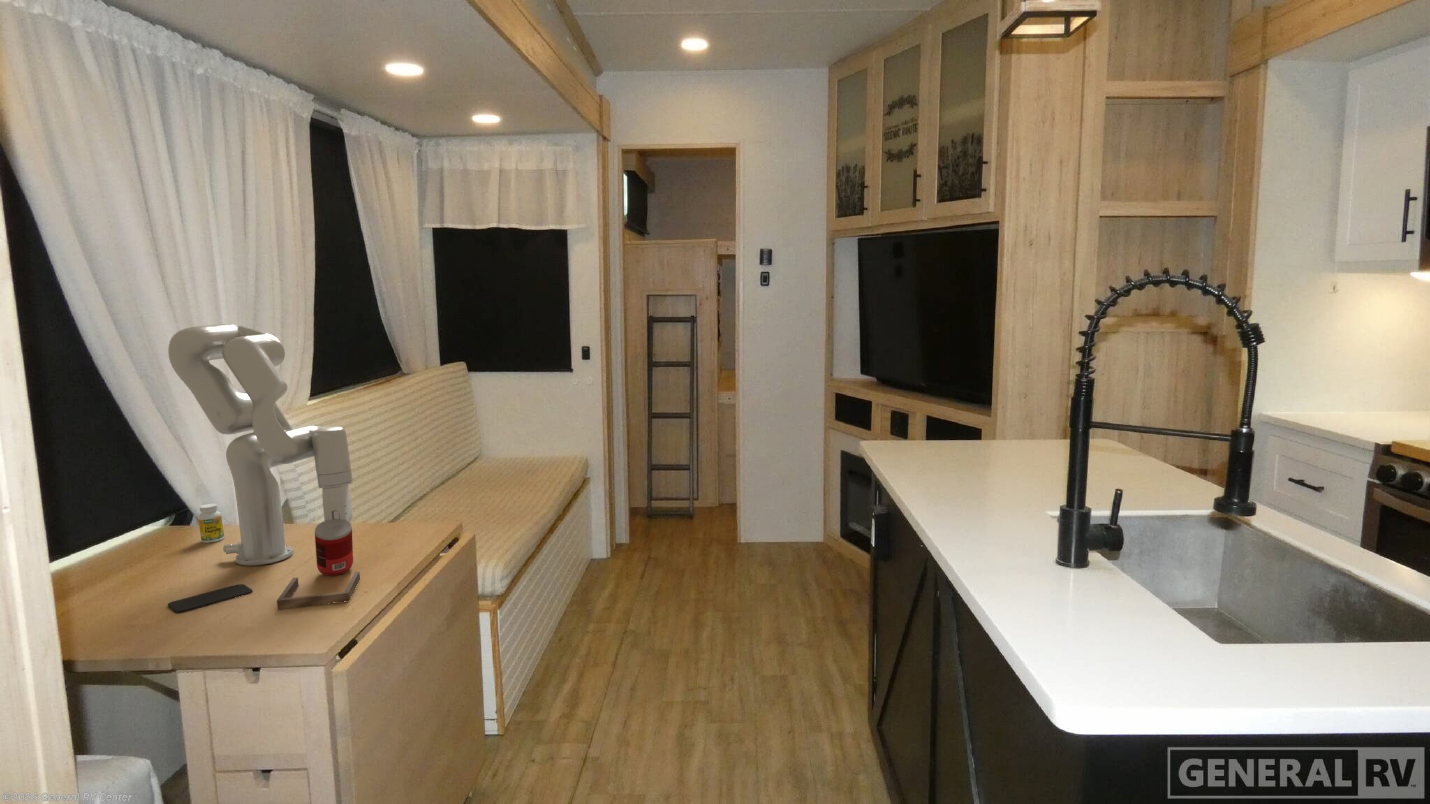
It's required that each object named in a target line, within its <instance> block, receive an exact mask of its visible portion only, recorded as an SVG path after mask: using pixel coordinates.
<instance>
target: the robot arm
mask: <svg viewBox="0 0 1430 804" xmlns="http://www.w3.org/2000/svg"><path fill="white" fill-rule="evenodd" d="M167 351H168V359H169V362H170V364H171V367H172V369H173V371H174V372H175V373H176V375H177V376H178V378H179V379H180V380H181V381H182V382H183V383H184V385H186V387H187V388H188V389H189V390H190V392H191V394H192V395H193V397H194V398H195V399H196V401H197V403H198V405H199V406H200V408H201V409H202V411H203V412H204V415H206V417H207V419H208V421H209V422H210V423H211V425H212V426H213V428H214V429H215V430H216V431H217V432H218V433H220V434H222V435H227V436H228V435H235V434H240V433H245V432H249V431H252V430H253V432H249V433H246V434H243V435H240V436H238V437H235V438H234V439H233V440H232V441H230V442H229V444H228V446H227V448H226V452H225V458H226V462H227V465H228V467H229V470H230V474H231V477H232V482H233V487H234V493H235V500H236V508H237V518H238V525H239V534H240V541H239V542H237V543H230V544H229V543H228V544H227V543H226V544H224V545H223V546H222V547H223V548H222V549H223V553H225V554H226V555H232V554H236V557H235V562H236V563H237V564H238V565H241V566H252V567H253V566H261V565H262V566H263V565H267V564H268V565H269V564H274V563H277V562H280V561H283V560H285V559H288V558H289V557H291V556H292V555H294V547H292V546H290V545H286V538H285V537H286V535H285V527H284V519H283V518H284V517H283V508H282V500H281V492H280V486H279V483H278V481H277V479H276V476H275V475H274V474H273V473H272V471H271V468H275V467H276V466H281V465H287V464H288V465H289V464H292V463H296V462H299V461H302V460H305V459H306V460H307V459H309V458H312V457H314V465H315V470H316V471H315V472H316V478H317V485H318V488H319V489H321V490H322V494H321V495H322V507H323V509H322V511H323V517H324V521H326V520H332V519H341V520H347V521H349V522H350V523H351V521H352V519H353V505H352V497H351V492H350V486H349V485H350V484H353V474H352V466H351V459H350V453H349V451H350V450H349V445H348V444H349V443H348V438H347V437H348V436H347V432H346V430H345V428H344V427H342V426H326V427H324V426H317V425H307V426H306V425H305V426H302V427H297V428H294V429H293V428H292V426H291V424H290V423H289V421H288V420H287V418H286V416H285V415H284V413H283V411H282V410H281V409H280V407H279V405H278V404H277V401H278V400H279V399H281V398H282V397H283V396H284V395H285V394H286V393H287V391H288V384H287V382H286V381H285V380H284V378H283V377H282V375H281V373H279V371H278V369H277V368H276V367H277V366H279V365H281V364H282V363H283V361H284V360H285V356H286V351H285V348H284V344H283V343H282V342H281V341H280V339H278V338H277V337H276V336H274V335H272V334H271V333H267V332H264V331H262V330H257V329H254V328H251V327H246V326H243V325H239V324H234V323H222V324H210V325H197V326H190V327H187V328H183V329H181V330H179V331H177V332H176V333H175V334H173V336H172V337H171V338H170V340H169V342H168V350H167ZM223 359H224V362H225V363H226V365H227V366H228V369H230V371H231V373H232V374H233V375H234V377H235V379H236V380H237V382H238V383H239V385H240V386H241V387H242V389H243V391H244V392H239V390H237V388H236V387H235V385H233V383H232V381H231V380H230V378H229V377H228V375H227V374H225V373H224V372H223V371H222V370H221V369H220V368H218V367H216V366H214V365H213V364H212V363H210V362H211V361H212V360H214V361H216V360H223Z"/></svg>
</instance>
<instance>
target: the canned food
mask: <svg viewBox="0 0 1430 804" xmlns="http://www.w3.org/2000/svg"><path fill="white" fill-rule="evenodd" d="M352 526H353V525H352V523H351V521H350V522H349V521H347V520H341V519H332V520H326V521H325V520H324V521H321V522H320V523H318V524H317V525H316V526H315V528H314V542H315V555H316V556H315V557H316V559H315V560H316V568H317V570H318V572H319V573H320V574H322V575H325V576H339V575H342V574H345V573H346V572H348V571H349V570H350V569H352V566H353V563H354V551H353V550H354V549H353V547H354V546H353V544H354V543H353V527H352Z"/></svg>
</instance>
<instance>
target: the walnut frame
mask: <svg viewBox="0 0 1430 804" xmlns="http://www.w3.org/2000/svg"><path fill="white" fill-rule="evenodd" d="M360 576H361V574H360V571H354V572H353V574H352V576H351V578H350V580H349V582H348V584H347V586H346V588H345V590H344V591H341V592H330V593H321V594H320V593H319V594H311V595H301V596H293V595H294V594H295V592H296V591H297V589H298V588H299V587H300V586H299V577H292V579H291V580H290V581H289V582H288V584H287V585H286V586H285V588H284V590H283V591H282V592H281V594H280V595H279V597H278V598H277V599H276V606H277V607H276V608H277V610H278V611H279V610H287V609H297V608H298V609H299V608H305V607H314V606H313V605H316V606H319V605H318V604H326V605H329V604H328V603H333V602H344V601H349V600H350V601H351V599H352V597H353V595H354V593H355V591H356V589H355V588H357V587H358V585H359V583H360V581H359V580H361V577H360ZM358 582H359V583H358ZM357 584H358V585H357ZM356 586H357V587H356ZM352 594H353V595H352ZM292 596H293V597H292ZM351 596H352V597H351ZM350 598H351V599H350ZM350 601H349V602H350ZM344 603H345V602H344Z"/></svg>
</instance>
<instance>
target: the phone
mask: <svg viewBox="0 0 1430 804" xmlns="http://www.w3.org/2000/svg"><path fill="white" fill-rule="evenodd" d="M252 593H253V589H252V588H250V587H249V586H247V585H246V584H243V583H238V584H237V583H236V584H234V585H230V586H227V587H226V586H225V587H221V588H218V589H215V590H212V591H207V592H204V593H200V594H196V595H192V596H188V597H185V598H182V599H181V598H180V599H178V600H177V599H176V600H174V601H170V602H168V603H167V607H168V608H169V610H171V611H172V612H173V613H175V614H183V613H188V612H190V611H194V610H198V609H203V608H205V607H207V606H211V605H215V604H219V603H222V602H225V601H229V600H233V599H236V598H239V596H240V597H243V596H247V595H249V594H252ZM242 595H243V596H242ZM235 597H236V598H235Z"/></svg>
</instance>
